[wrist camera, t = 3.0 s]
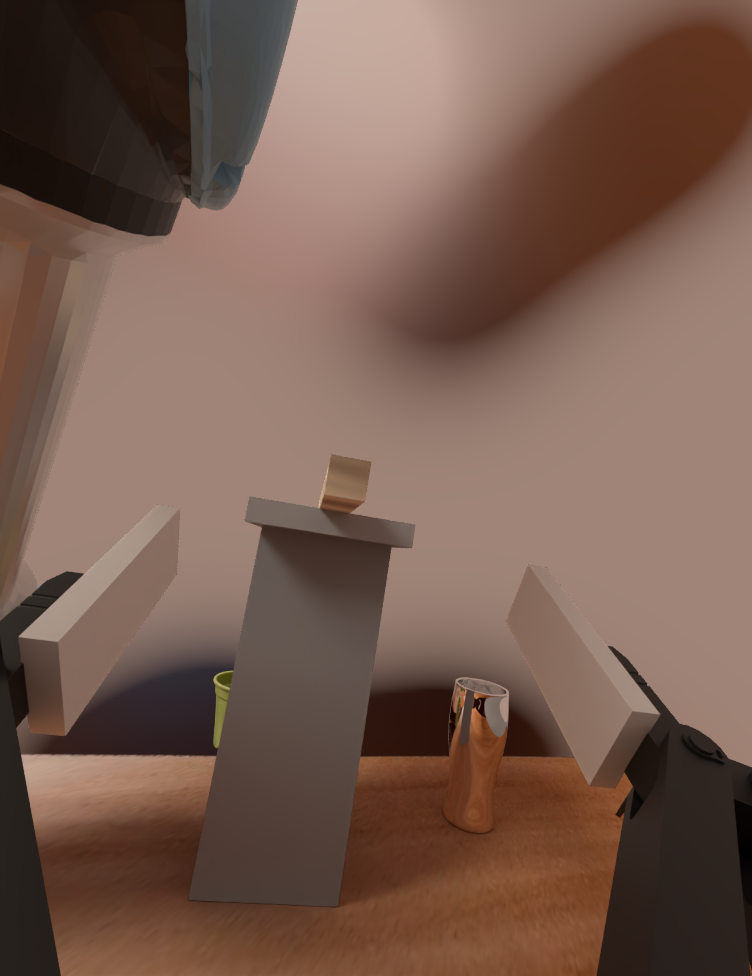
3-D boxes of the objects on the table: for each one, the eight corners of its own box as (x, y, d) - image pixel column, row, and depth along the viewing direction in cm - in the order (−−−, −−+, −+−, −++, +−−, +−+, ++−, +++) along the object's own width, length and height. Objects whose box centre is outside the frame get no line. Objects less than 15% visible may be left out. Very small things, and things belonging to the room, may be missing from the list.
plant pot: (201, 729, 62) (214, 668, 64) (265, 730, 65) (276, 671, 67) (199, 761, 54) (213, 689, 55) (273, 760, 57) (286, 692, 58)
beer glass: (461, 794, 56) (474, 675, 58) (509, 825, 50) (521, 692, 53) (426, 808, 51) (442, 678, 54) (474, 844, 46) (490, 698, 48)
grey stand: (354, 952, 31) (415, 524, 36) (157, 946, 29) (249, 496, 34) (339, 816, 47) (383, 530, 52) (209, 807, 45) (267, 511, 50)
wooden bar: (364, 501, 26) (371, 461, 26) (324, 494, 25) (331, 454, 26) (336, 523, 51) (340, 502, 52) (316, 519, 51) (319, 499, 51)
